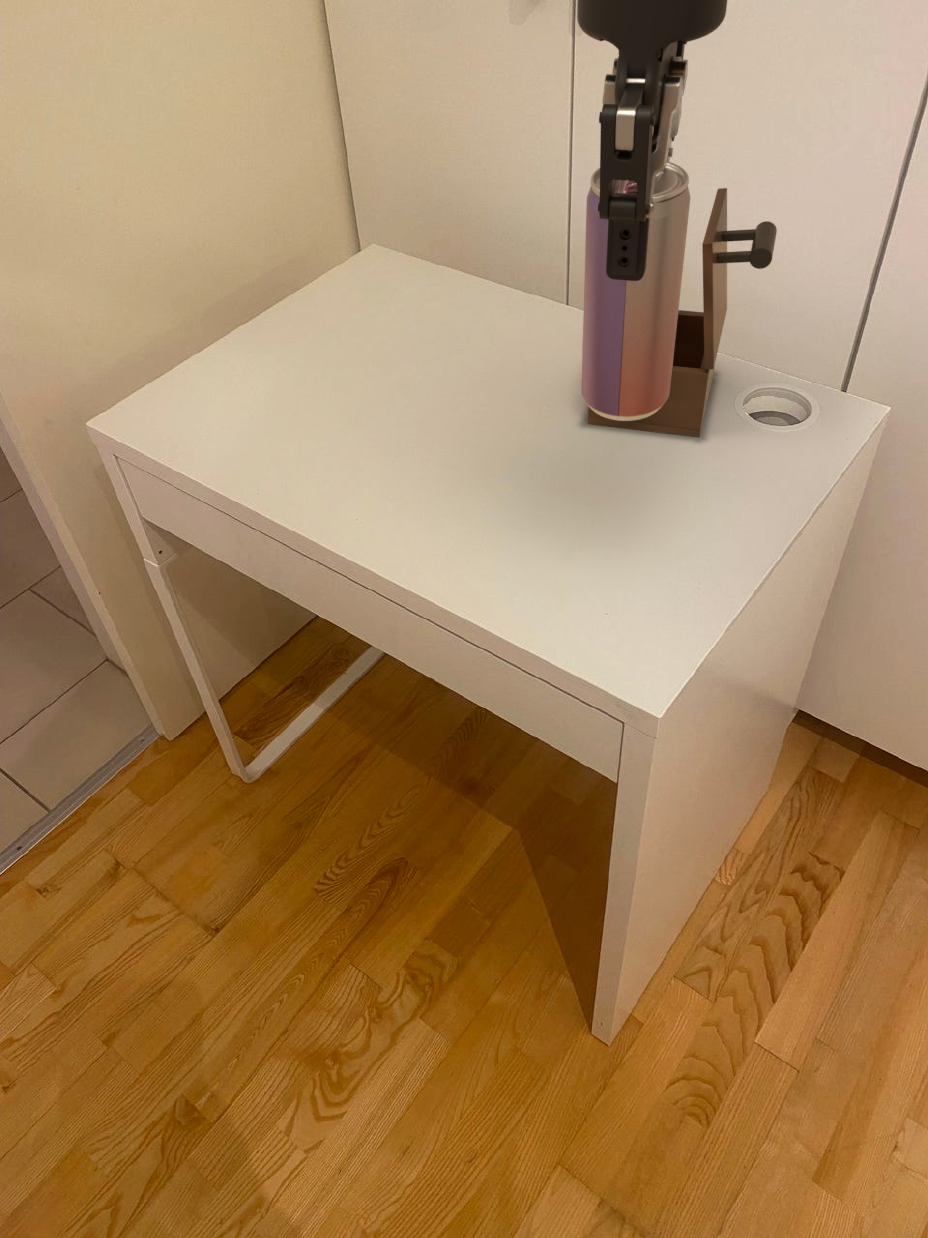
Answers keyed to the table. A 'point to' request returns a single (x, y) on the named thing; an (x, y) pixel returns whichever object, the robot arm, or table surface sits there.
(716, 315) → the lid
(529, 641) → the table surface
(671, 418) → the chest
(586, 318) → the beverage can
